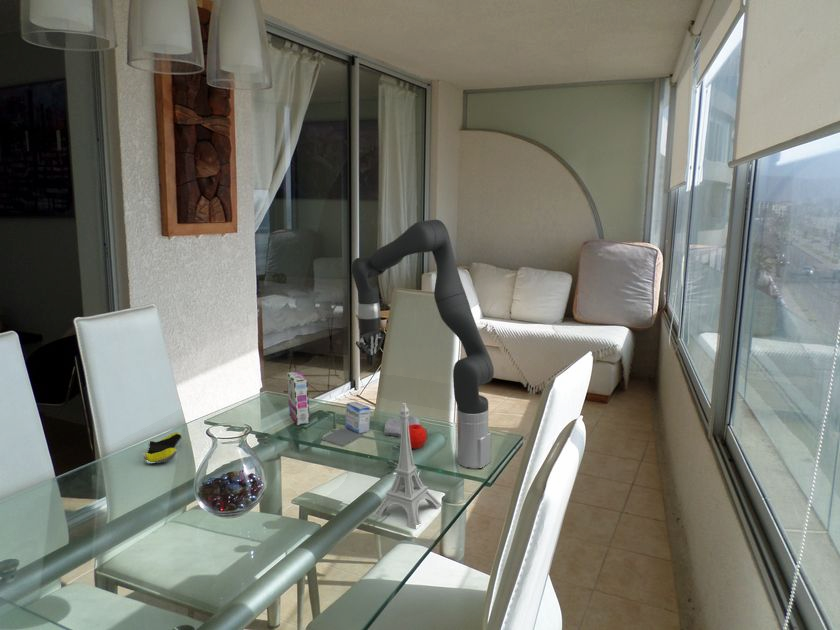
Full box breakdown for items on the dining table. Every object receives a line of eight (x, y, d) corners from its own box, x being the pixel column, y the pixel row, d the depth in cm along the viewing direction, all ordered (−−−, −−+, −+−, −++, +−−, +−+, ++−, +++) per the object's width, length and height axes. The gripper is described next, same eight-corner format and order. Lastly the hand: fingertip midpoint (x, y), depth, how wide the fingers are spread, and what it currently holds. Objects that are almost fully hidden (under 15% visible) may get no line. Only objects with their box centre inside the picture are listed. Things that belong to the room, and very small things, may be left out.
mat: (363, 435, 218) (363, 434, 218) (343, 446, 210) (343, 445, 210) (341, 429, 224) (341, 428, 223) (320, 439, 216) (320, 438, 216)
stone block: (418, 443, 216) (421, 425, 225) (417, 431, 214) (420, 414, 223) (383, 444, 217) (386, 426, 226) (381, 432, 215) (385, 414, 224)
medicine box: (344, 427, 224) (345, 402, 222) (355, 424, 227) (356, 400, 225) (358, 434, 218) (359, 409, 217) (369, 431, 221) (370, 406, 220)
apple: (410, 439, 214) (409, 418, 212) (431, 444, 210) (431, 422, 208) (398, 449, 207) (397, 427, 205) (420, 454, 203) (419, 432, 202)
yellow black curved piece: (183, 445, 214) (151, 449, 212) (181, 430, 213) (149, 433, 211) (177, 466, 200) (142, 470, 198) (175, 449, 199) (140, 453, 197)
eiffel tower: (372, 516, 169) (367, 407, 162) (399, 493, 180) (396, 391, 173) (416, 530, 163) (412, 417, 155) (442, 505, 174) (440, 399, 167)
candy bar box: (311, 423, 229) (307, 379, 225) (296, 426, 227) (293, 381, 223) (302, 412, 239) (299, 370, 235) (289, 415, 237) (285, 372, 233)
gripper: (364, 320, 213) (367, 371, 217) (390, 312, 224) (391, 360, 228) (347, 318, 218) (350, 367, 222) (373, 310, 228) (375, 357, 232)
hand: (371, 364), depth 225 cm, fingers closed
